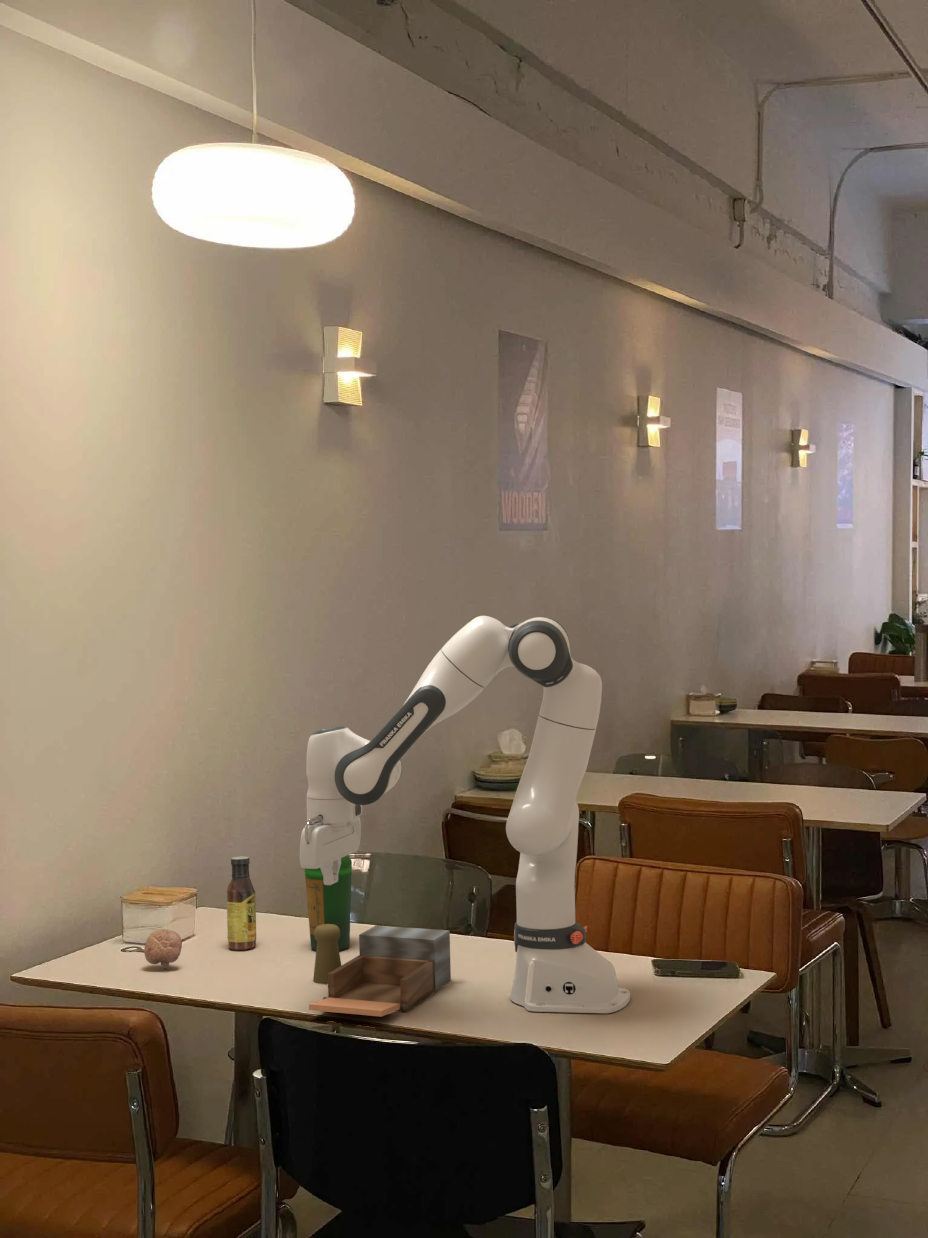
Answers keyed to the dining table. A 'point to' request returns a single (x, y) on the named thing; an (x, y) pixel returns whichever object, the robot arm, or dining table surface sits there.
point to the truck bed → (394, 967)
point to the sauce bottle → (241, 907)
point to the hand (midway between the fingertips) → (330, 883)
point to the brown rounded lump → (163, 947)
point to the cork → (326, 952)
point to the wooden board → (354, 1006)
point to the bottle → (330, 902)
